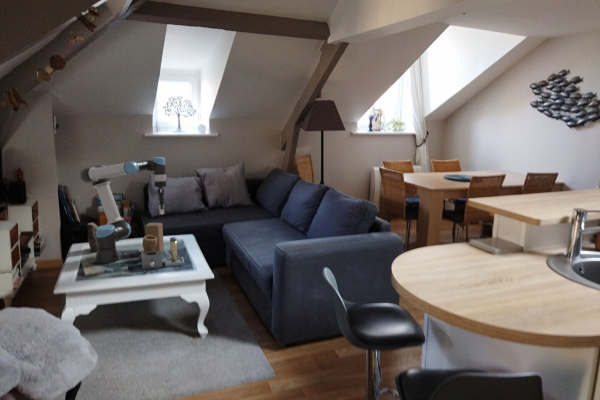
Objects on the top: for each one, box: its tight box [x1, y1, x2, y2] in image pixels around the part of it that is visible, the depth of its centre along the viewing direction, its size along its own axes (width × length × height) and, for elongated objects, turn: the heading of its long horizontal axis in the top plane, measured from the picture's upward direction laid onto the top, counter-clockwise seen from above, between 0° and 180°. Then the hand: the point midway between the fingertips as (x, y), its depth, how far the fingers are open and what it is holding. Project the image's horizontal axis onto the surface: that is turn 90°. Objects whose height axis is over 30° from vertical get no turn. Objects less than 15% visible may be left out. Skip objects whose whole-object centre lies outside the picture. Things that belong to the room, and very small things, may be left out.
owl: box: [86, 221, 99, 253], centre depth 331 cm, size 13×13×20 cm
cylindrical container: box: [169, 236, 178, 263], centre depth 299 cm, size 4×4×16 cm
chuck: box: [141, 250, 163, 270], centre depth 292 cm, size 12×18×8 cm, turn 19°
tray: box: [163, 256, 185, 268], centre depth 300 cm, size 12×12×2 cm
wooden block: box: [144, 222, 165, 252], centre depth 328 cm, size 10×10×20 cm
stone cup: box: [139, 235, 157, 260], centre depth 314 cm, size 15×12×15 cm
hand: (161, 212), depth 306 cm, fingers open, 13 cm apart
